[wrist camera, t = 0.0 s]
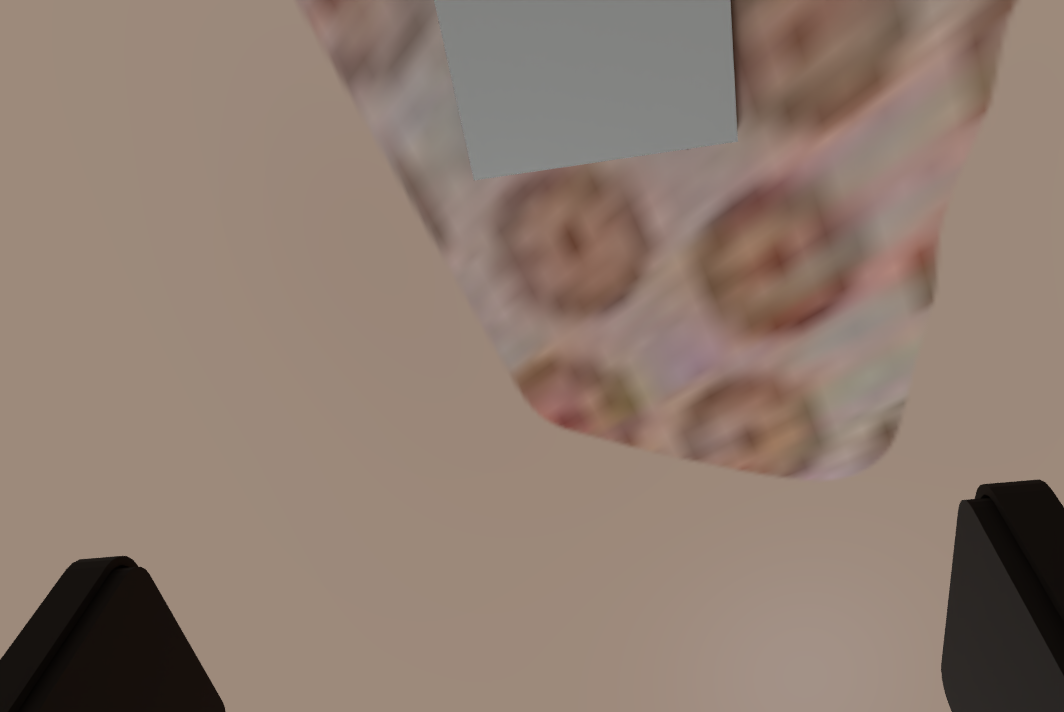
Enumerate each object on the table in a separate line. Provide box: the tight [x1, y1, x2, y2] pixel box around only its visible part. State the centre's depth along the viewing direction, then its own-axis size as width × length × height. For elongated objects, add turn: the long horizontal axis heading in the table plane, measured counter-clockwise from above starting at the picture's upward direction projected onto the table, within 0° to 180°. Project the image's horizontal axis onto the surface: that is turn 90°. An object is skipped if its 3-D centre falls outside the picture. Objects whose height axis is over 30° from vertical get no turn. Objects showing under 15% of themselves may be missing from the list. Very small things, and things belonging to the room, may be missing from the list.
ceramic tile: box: [434, 0, 738, 180], centre depth 35 cm, size 12×12×1 cm
